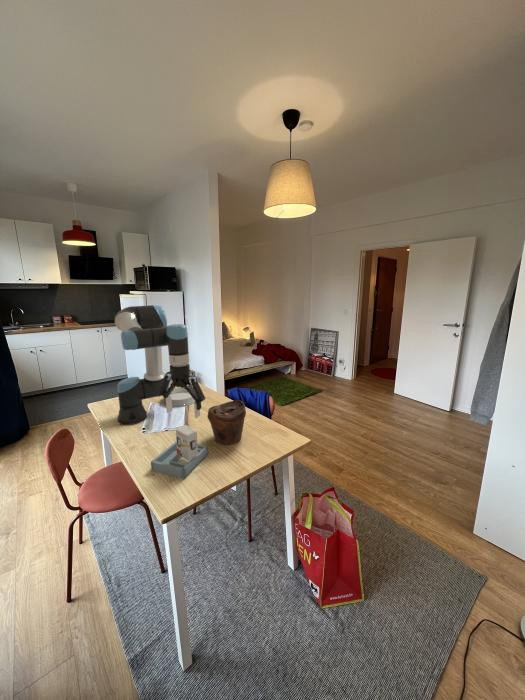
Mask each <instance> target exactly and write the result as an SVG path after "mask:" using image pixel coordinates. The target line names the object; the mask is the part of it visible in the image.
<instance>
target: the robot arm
mask: <svg viewBox="0 0 525 700" xmlns="http://www.w3.org/2000/svg"><path fill="white" fill-rule="evenodd" d="M167 319H168V318H167V314H166V311H165V309H164V308H163V306H162V305H154V304H152V305H137V306H136V305H135V306H134V305H133V306H131V305H130V306H127V307H124V308H123V309H120V310H119V311H118V312H117V313H116V314H115V316H114V324H115V326H116V328H117V330H120V332H121V333H120V339H121V345H122V349H124V351H130V350H131V351H135V350H142V349H144V355H145V357H144V358H145V369H146V370H145V373H144V374H143V378H140V377H139V376H131V377H127V378H126V377H125V378H124V379H121V380H120V381H119V382H118V383H117V385H116V388H117V390H116V391H117V396H118V403H119V404H118V405H119V410H118V415H117V423H118V424H120V425H123V426H124V425H127V426H128V425H129V426H130V425H136V424H139V423H142V422H143V421H144V420H146V419H147V416H148V415H147V410H146V409H145V406H144V405H143V400H147V399H152V398H158V397H163V402H164V401H165V404H166V405H165V404H164V405H165V407H166V408H165V409H166V413H167V414H169V413H171V412H173V407H172V400H171V396H169V395H170V394H171V392H172V391H173V389H176V387H177V388H185V389H186V390H187V391H188V392H189V394H190V395H191V396H192V398H193V399H194V400H195V402H194V404H193V409H194V410H193V411H194V418H195V419H198V418H199V417H200V416H201V409H202V402H203V401H206V396H205V395H204V392H203V389H202V388H201V386H200V384H199V381H198V378H197V376H193V377H191V376H190V374H191V373H190V372H191V369H190V354H189V353H190V352H189V340H188V338H189V337H188V336H189V333H188V328H187V325H186V324H181V323H177V324H175V323H174V324H170V325H168V320H167ZM166 346H167V349H168V360H169V373H165V372H164V371H163V353H162V347H166ZM171 381H172V382H171ZM170 382H171V384H170Z"/></svg>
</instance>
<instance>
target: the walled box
mask: <svg viewBox="0 0 525 700" xmlns="http://www.w3.org/2000/svg"><path fill="white" fill-rule="evenodd" d="M197 449H198V457H196V458H194V459H192V460H190V461H188V460H186V459H185V458H183V457H181V456H180V455H178V454H177V442H176V441H174V442H173V443H171V445H170V446H169V447H167V448H166V449H164V450H163V451H162V452H161V453H160V454H158V456H156V457H155V458H154V459H152V460H151V461H150V468H151V471H152V472H156V473H160V474H162V475H163V474H164V475H167V476H170V477H175V478H179V479H182V480H186V479H187V477H188V476H189V475H190V474H191V473H193V471H194V470H195V469H196V468H197V467H198V466H199V464H200V463H202V462H203V460H205V458H206V457H207V456H208V455H209V446H208V445H204V444H199V443H197Z"/></svg>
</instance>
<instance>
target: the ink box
mask: <svg viewBox="0 0 525 700" xmlns="http://www.w3.org/2000/svg"><path fill="white" fill-rule="evenodd" d="M175 439H176V441H175V442H177V454H178V455H180V456H181V457H183V458H185V459H186V460H188V461H190V460H192V459H194V458H196V457H198V449H197V444H198V431H197V430H195V429H194V428H192V427H190V426H189V425H186V424H185V425H182V426H180V427H178V428H176V429H175Z"/></svg>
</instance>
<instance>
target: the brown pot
mask: <svg viewBox="0 0 525 700" xmlns="http://www.w3.org/2000/svg"><path fill="white" fill-rule="evenodd" d="M246 415H247V411H246V405H245V402H243V401H242V400H240V399H235V400H234V399H233V400H231V401H227V402H225V403H221V404H219V405H214V406H211V407H209V408H208V411H207V419H208V421H209V424H210V426H211V431H212V432H213V436H214V441H215V442H216V443H217V444H220V445H223V446H224V445H233V444H235V443H238V442H239V441H240V440H241V438H242V436H243V432H244V431H243V430H244V429H243V428H244V423H245V419H246Z"/></svg>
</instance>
